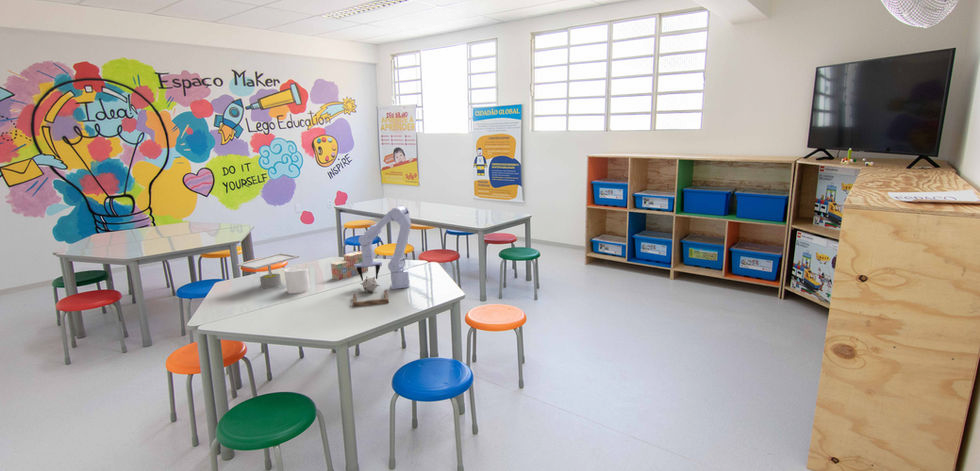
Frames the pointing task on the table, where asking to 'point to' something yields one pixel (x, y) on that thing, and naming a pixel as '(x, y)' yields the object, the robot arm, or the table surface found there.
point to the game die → (369, 284)
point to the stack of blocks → (347, 266)
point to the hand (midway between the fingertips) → (369, 279)
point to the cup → (297, 279)
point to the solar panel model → (269, 279)
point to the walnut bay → (370, 301)
